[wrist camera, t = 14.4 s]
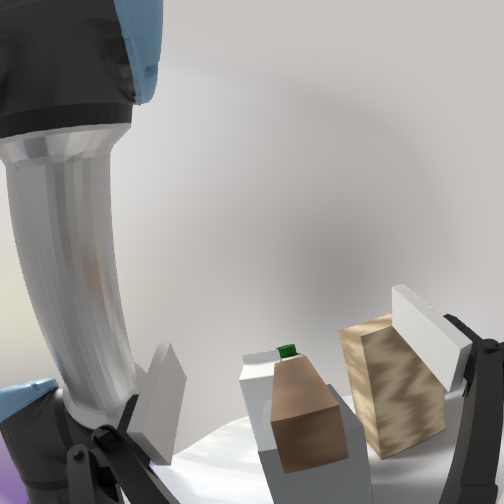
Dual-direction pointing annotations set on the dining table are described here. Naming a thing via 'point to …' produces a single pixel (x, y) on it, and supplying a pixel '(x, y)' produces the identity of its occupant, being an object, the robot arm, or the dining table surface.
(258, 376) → the milk
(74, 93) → the robot arm
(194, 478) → the dining table surface
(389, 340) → the oak block
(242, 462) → the dining table surface
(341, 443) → the bar
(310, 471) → the grey block
